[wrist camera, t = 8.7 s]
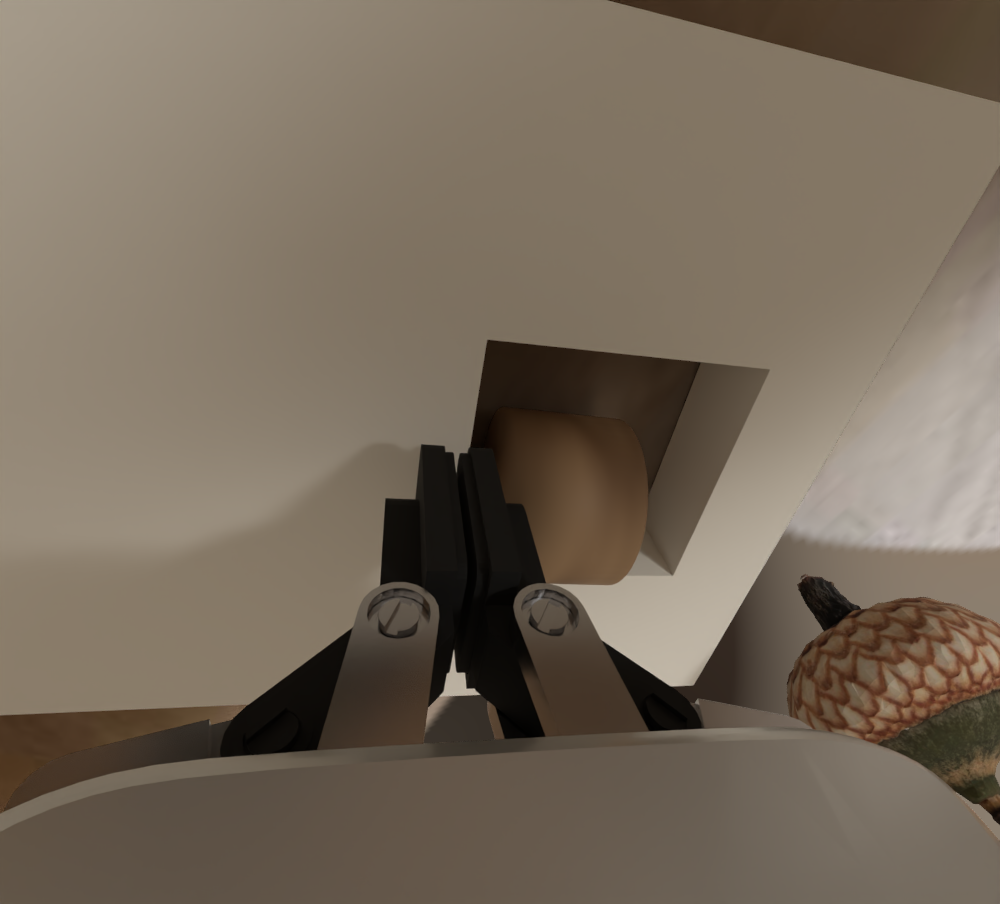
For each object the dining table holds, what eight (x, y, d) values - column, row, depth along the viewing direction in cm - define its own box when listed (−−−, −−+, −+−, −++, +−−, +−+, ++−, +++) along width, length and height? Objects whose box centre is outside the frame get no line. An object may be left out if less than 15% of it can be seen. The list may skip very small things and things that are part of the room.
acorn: (699, 562, 22) (877, 837, 14) (893, 476, 21) (1213, 718, 13) (736, 660, 26) (886, 910, 18) (897, 593, 25) (1134, 828, 17)
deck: (916, 110, 14) (1031, 110, 11) (663, 625, 24) (693, 685, 21) (-657, -278, 8) (-1178, -465, 5) (-81, 636, 18) (-159, 722, 15)
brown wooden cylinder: (506, 370, 15) (618, 384, 16) (473, 479, 19) (565, 485, 19) (528, 515, 12) (668, 524, 13) (482, 613, 15) (594, 614, 16)
